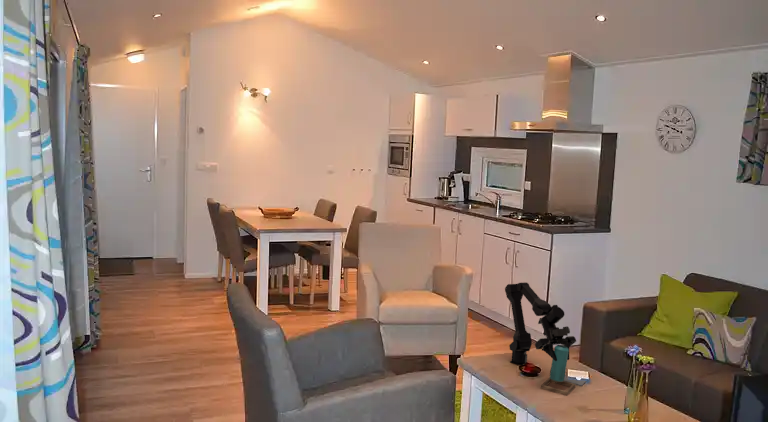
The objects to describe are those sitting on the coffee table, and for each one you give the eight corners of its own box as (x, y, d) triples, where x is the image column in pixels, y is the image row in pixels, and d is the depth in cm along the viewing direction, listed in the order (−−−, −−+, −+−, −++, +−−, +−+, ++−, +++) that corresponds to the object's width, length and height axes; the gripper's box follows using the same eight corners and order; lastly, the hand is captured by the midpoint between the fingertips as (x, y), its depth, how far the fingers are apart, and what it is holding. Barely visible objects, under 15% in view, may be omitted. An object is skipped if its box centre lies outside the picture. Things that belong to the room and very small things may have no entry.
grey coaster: (559, 380, 300) (559, 379, 300) (566, 374, 308) (566, 373, 308) (581, 386, 294) (581, 385, 294) (587, 380, 303) (588, 378, 303)
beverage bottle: (565, 385, 287) (573, 341, 286) (550, 383, 287) (558, 339, 286) (561, 380, 294) (569, 337, 292) (546, 378, 294) (554, 335, 292)
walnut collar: (540, 388, 289) (540, 385, 289) (549, 380, 299) (549, 377, 299) (566, 395, 283) (567, 392, 283) (575, 387, 293) (575, 384, 293)
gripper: (541, 321, 288) (553, 354, 279) (575, 318, 294) (589, 350, 286) (529, 332, 296) (541, 364, 287) (563, 330, 303) (576, 361, 294)
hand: (562, 360), depth 288 cm, fingers closed on beverage bottle, 6 cm apart
